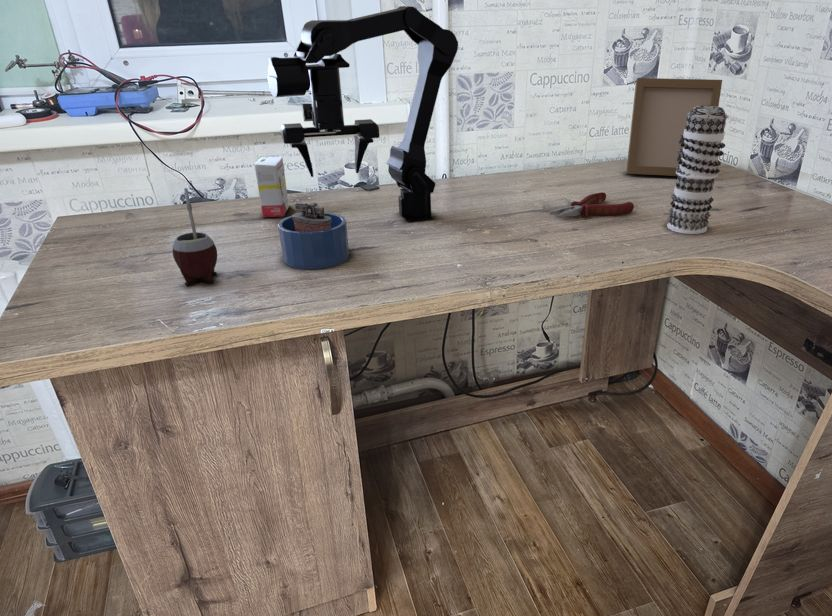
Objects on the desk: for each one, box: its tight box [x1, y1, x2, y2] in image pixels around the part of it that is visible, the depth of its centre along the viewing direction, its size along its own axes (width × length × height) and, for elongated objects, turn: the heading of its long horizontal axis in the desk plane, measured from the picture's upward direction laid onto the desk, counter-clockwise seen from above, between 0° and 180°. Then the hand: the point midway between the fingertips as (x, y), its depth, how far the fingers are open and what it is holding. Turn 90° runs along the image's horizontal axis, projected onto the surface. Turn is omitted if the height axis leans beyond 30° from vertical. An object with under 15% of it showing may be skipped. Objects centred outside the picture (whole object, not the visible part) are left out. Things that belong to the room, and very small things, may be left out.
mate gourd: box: [172, 187, 218, 287], centre depth 108 cm, size 8×8×15 cm
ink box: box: [253, 156, 290, 218], centre depth 143 cm, size 9×5×12 cm, turn 5°
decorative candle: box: [666, 105, 729, 235], centre depth 131 cm, size 9×9×25 cm
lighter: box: [291, 201, 332, 232], centre depth 119 cm, size 8×3×10 cm, turn 68°
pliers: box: [548, 191, 635, 218], centre depth 146 cm, size 12×20×3 cm, turn 122°
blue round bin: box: [277, 211, 350, 270], centre depth 120 cm, size 12×12×7 cm
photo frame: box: [625, 77, 723, 177], centre depth 174 cm, size 15×22×25 cm
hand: (334, 174), depth 129 cm, fingers open, 9 cm apart
